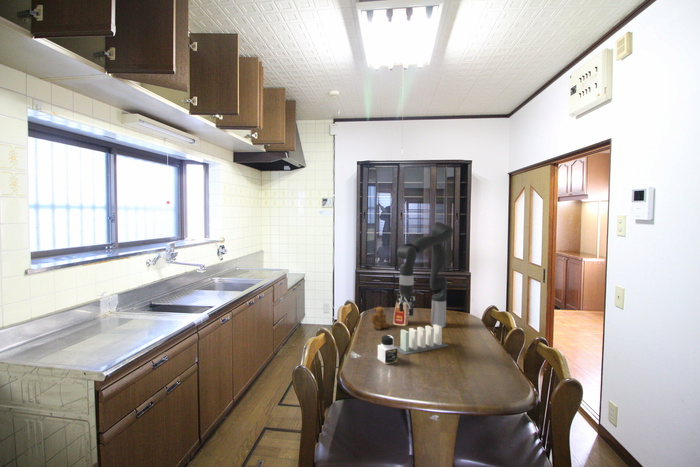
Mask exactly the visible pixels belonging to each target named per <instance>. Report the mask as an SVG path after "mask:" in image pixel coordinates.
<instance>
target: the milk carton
mask: <svg viewBox="0 0 700 467" xmlns="http://www.w3.org/2000/svg"><path fill="white" fill-rule="evenodd" d="M399 300H400V298H399ZM403 305H404V306H403V311H402V312H400V311H399V303H397V302H396V303H395V307H394V314H393V320H392V321H393V323H392V325H393V324H394V325H395V326H404V327H405V326H407V325H409V320H408V305H407V304H406V303H405V302H404V303H403ZM394 325H393V326H394Z"/></svg>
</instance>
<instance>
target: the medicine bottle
mask: <svg viewBox="0 0 700 467" xmlns="http://www.w3.org/2000/svg"><path fill="white" fill-rule="evenodd" d="M380 340H381V341H380V342H381V344H378V345H377V360H378V361H380V362H382V363H383V364H384V365H389V364H394V363H397V362H398V351H397V346H395V345H394V344H395V338H394V337H393V336H392V335H391V334H390V335H388V334H385V335H382V336H381V338H380Z"/></svg>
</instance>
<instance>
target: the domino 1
mask: <svg viewBox="0 0 700 467" xmlns="http://www.w3.org/2000/svg"><path fill="white" fill-rule="evenodd" d="M399 346H400V348H401V349H403V350H404V351H409V330H406V329H400V345H399Z"/></svg>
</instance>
